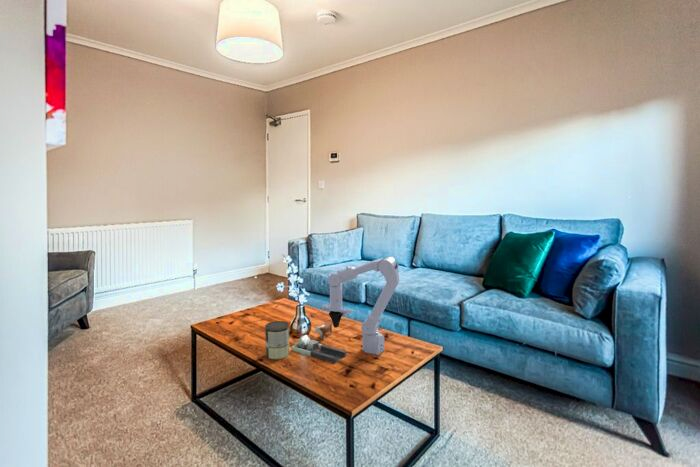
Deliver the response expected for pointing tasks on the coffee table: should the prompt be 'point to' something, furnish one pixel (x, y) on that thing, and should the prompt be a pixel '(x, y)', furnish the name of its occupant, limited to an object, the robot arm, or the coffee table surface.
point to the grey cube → (312, 345)
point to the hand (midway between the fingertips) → (336, 326)
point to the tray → (295, 348)
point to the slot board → (329, 354)
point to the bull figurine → (324, 329)
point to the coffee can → (277, 339)
